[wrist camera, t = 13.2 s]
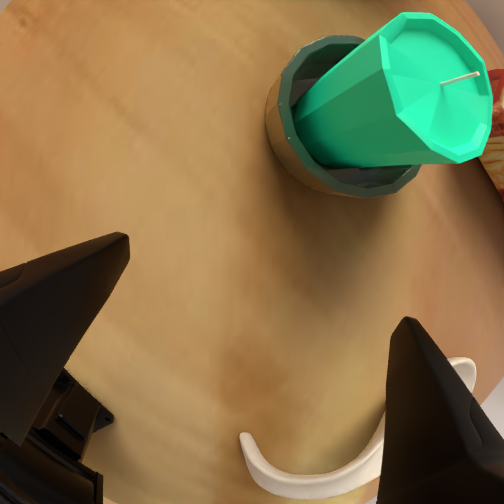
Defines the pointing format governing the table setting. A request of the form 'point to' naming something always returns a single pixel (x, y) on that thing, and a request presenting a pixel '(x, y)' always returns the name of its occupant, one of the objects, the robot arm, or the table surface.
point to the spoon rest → (342, 478)
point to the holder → (287, 140)
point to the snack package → (496, 133)
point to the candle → (400, 100)
